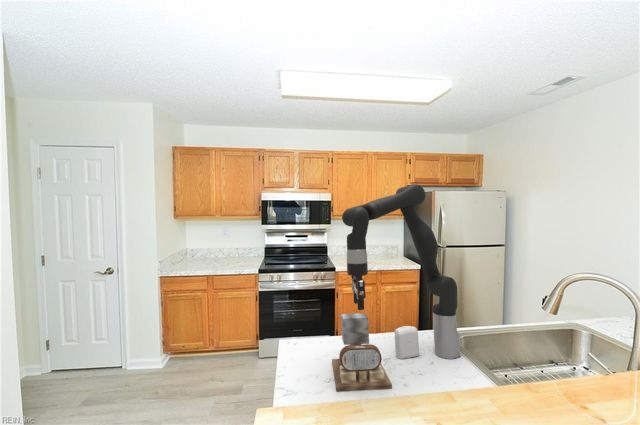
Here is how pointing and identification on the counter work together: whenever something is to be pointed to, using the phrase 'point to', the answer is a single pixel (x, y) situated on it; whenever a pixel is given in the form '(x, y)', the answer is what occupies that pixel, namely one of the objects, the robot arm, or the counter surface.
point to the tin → (360, 357)
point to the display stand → (357, 334)
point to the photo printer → (406, 342)
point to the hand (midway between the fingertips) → (358, 306)
